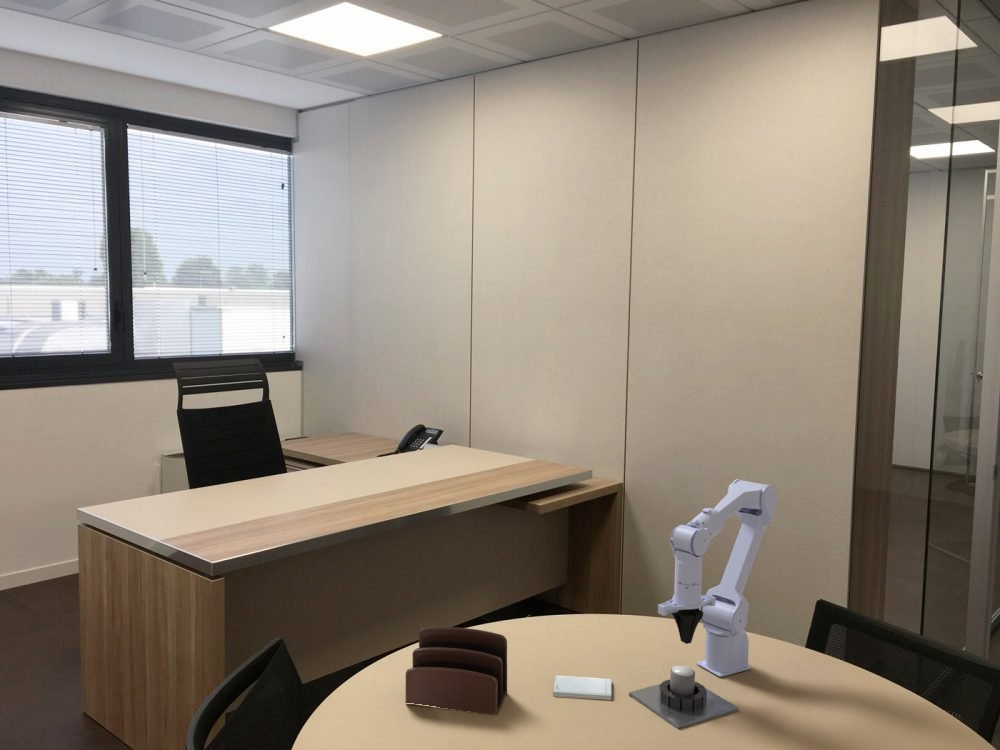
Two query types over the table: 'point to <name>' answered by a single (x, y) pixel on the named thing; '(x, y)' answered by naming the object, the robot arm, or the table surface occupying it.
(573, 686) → the hard drive
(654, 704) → the flat grey square plate
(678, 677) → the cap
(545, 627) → the table surface
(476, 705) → the letter holder
